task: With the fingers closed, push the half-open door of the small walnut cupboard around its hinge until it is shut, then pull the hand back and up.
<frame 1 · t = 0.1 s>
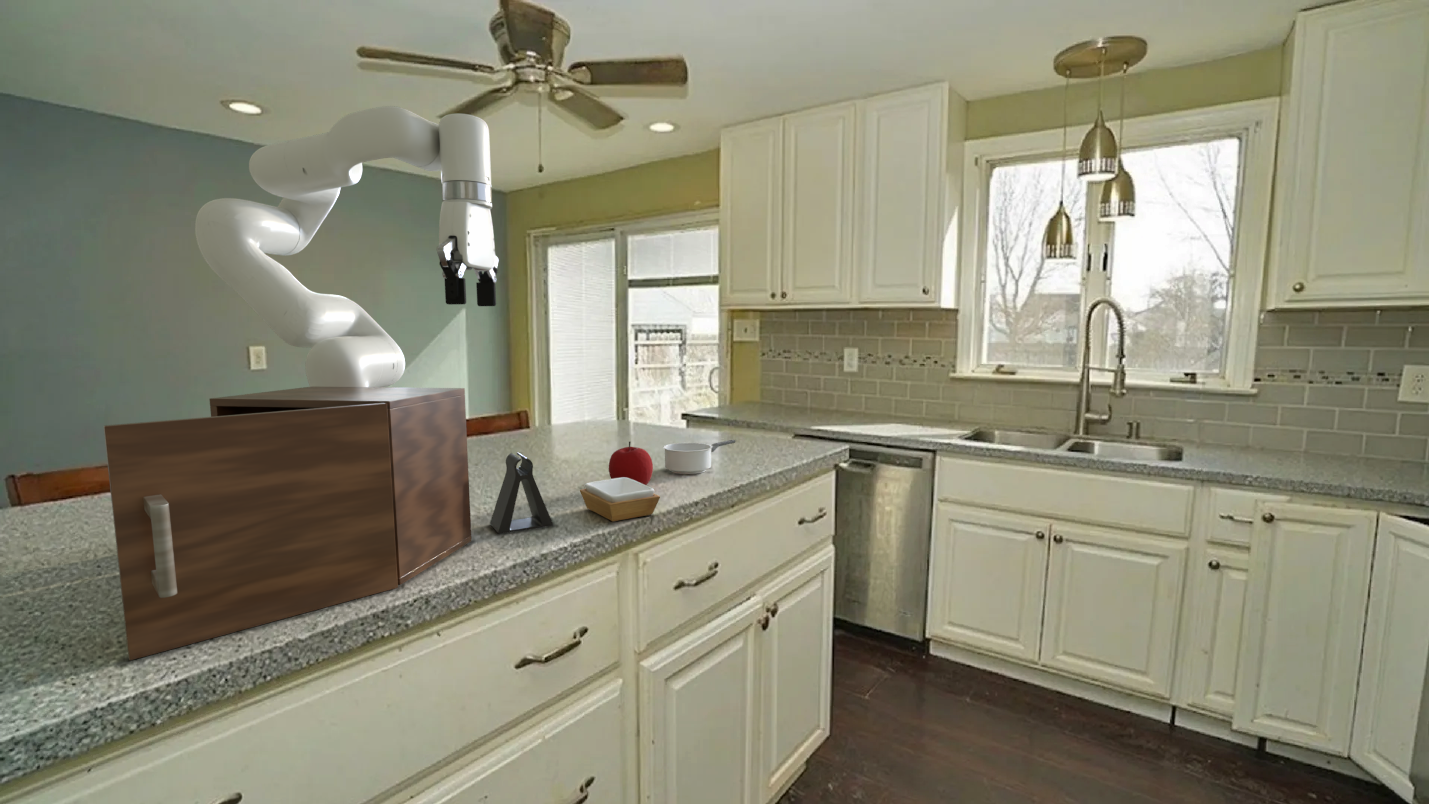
hand: (472, 305, 109), 37 cm above the worktop, tool pointing down, fingers open, 9 cm apart
apple: (631, 489, 138), on the worktop
cupboard door: (277, 522, 73), point 12 cm above the worktop, hinge at 55.0°
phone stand: (521, 527, 112), on the worktop
saucepan: (702, 468, 158), on the worktop
cupboard: (356, 557, 97), on the worktop
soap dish: (619, 513, 120), on the worktop
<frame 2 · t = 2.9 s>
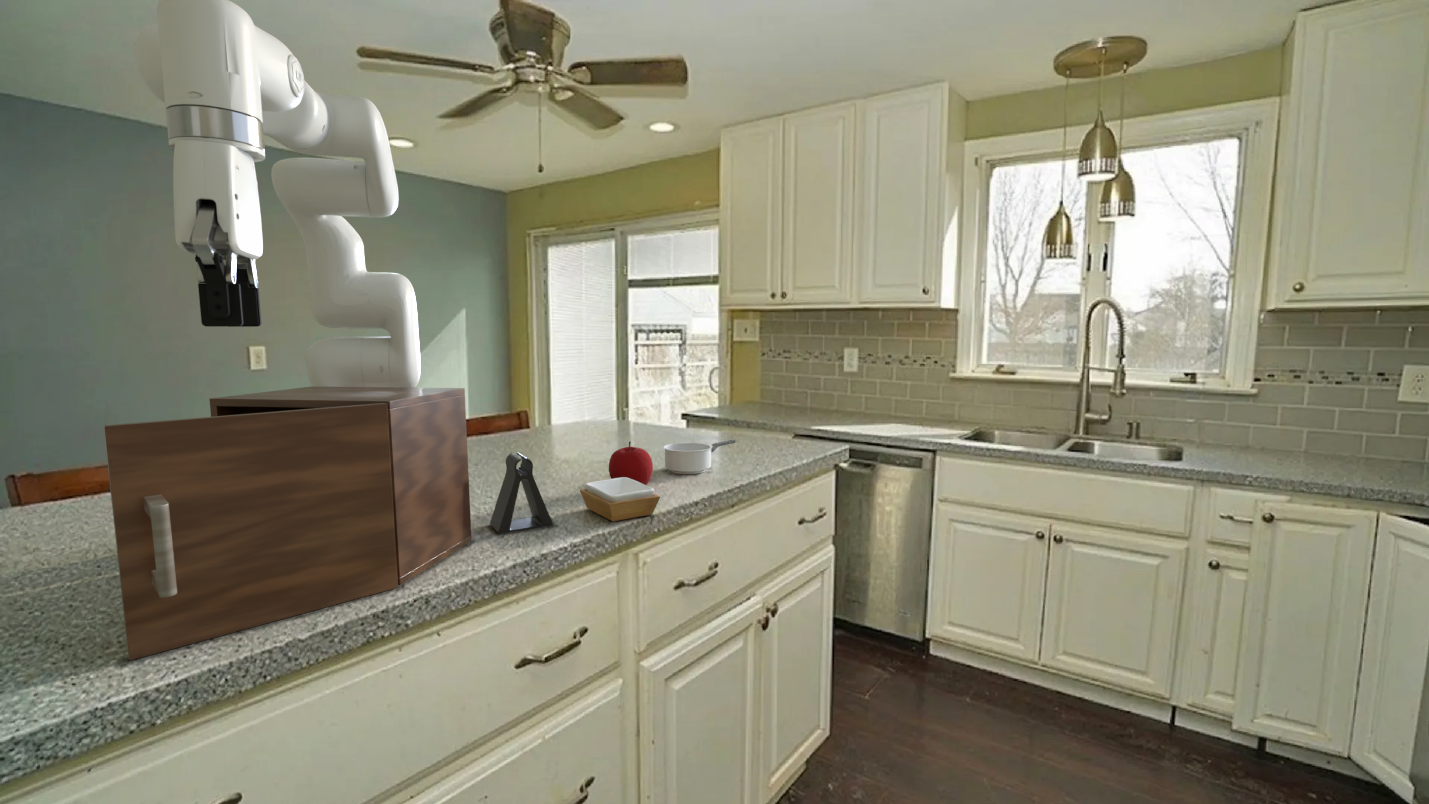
hand: (233, 324, 67), 34 cm above the worktop, tool pointing down, fingers open, 5 cm apart
nothing on the worktop moved.
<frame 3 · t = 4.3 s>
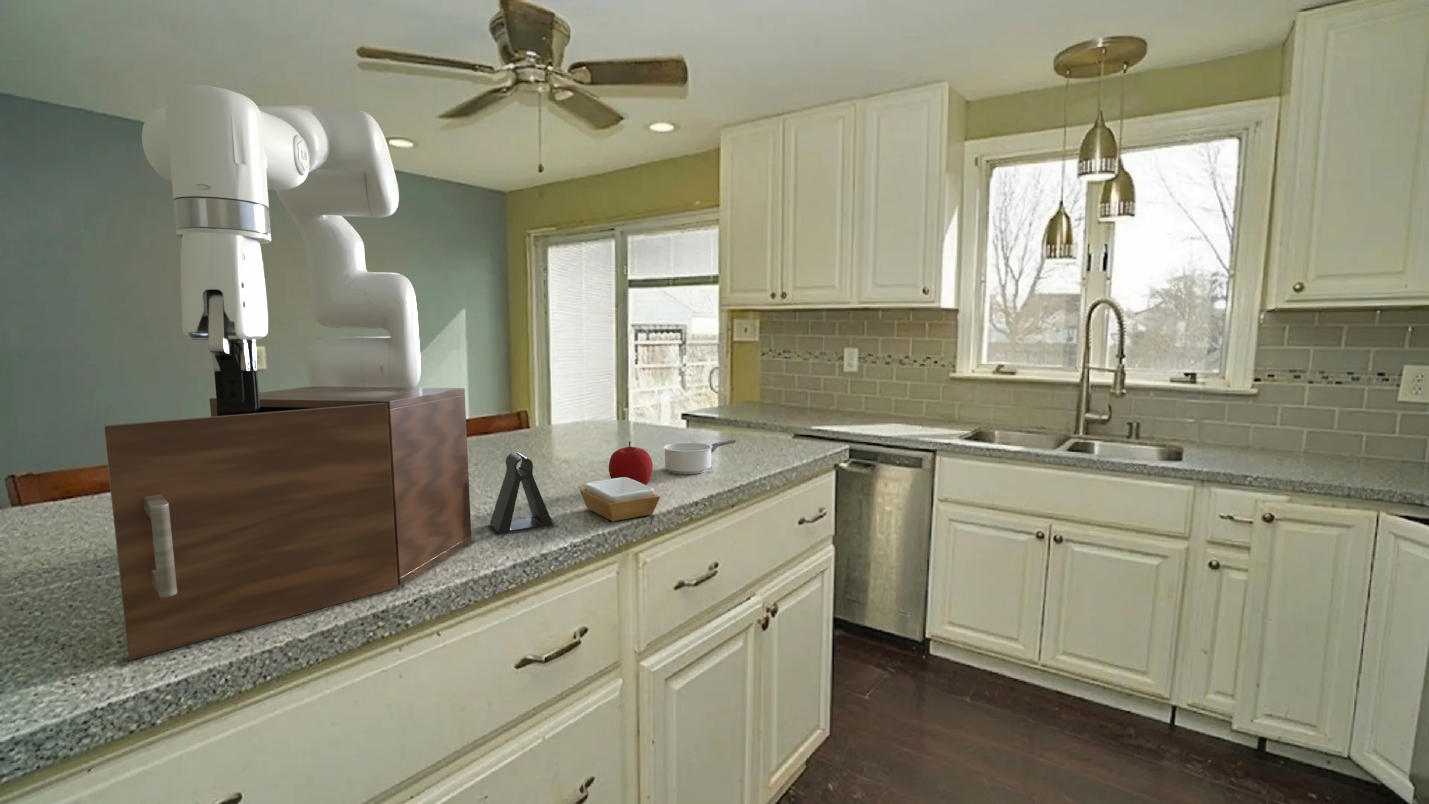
hand: (239, 410, 67), 25 cm above the worktop, tool pointing down, fingers closed
nothing on the worktop moved.
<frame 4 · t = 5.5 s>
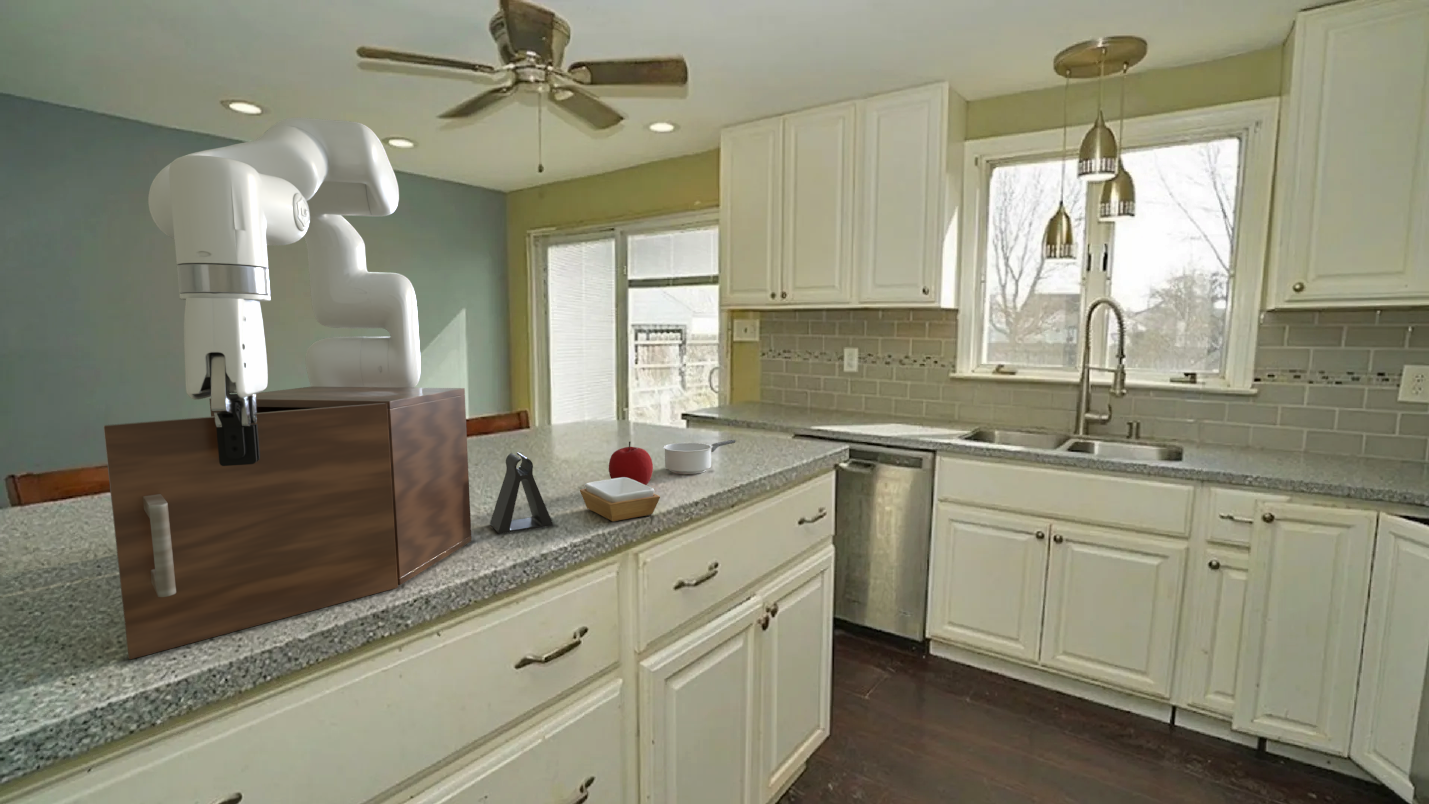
hand: (240, 463, 70), 19 cm above the worktop, tool pointing down, fingers closed
cupboard door: (276, 522, 73), point 12 cm above the worktop, hinge at 54.4°, touching gripper
everything else where it was.
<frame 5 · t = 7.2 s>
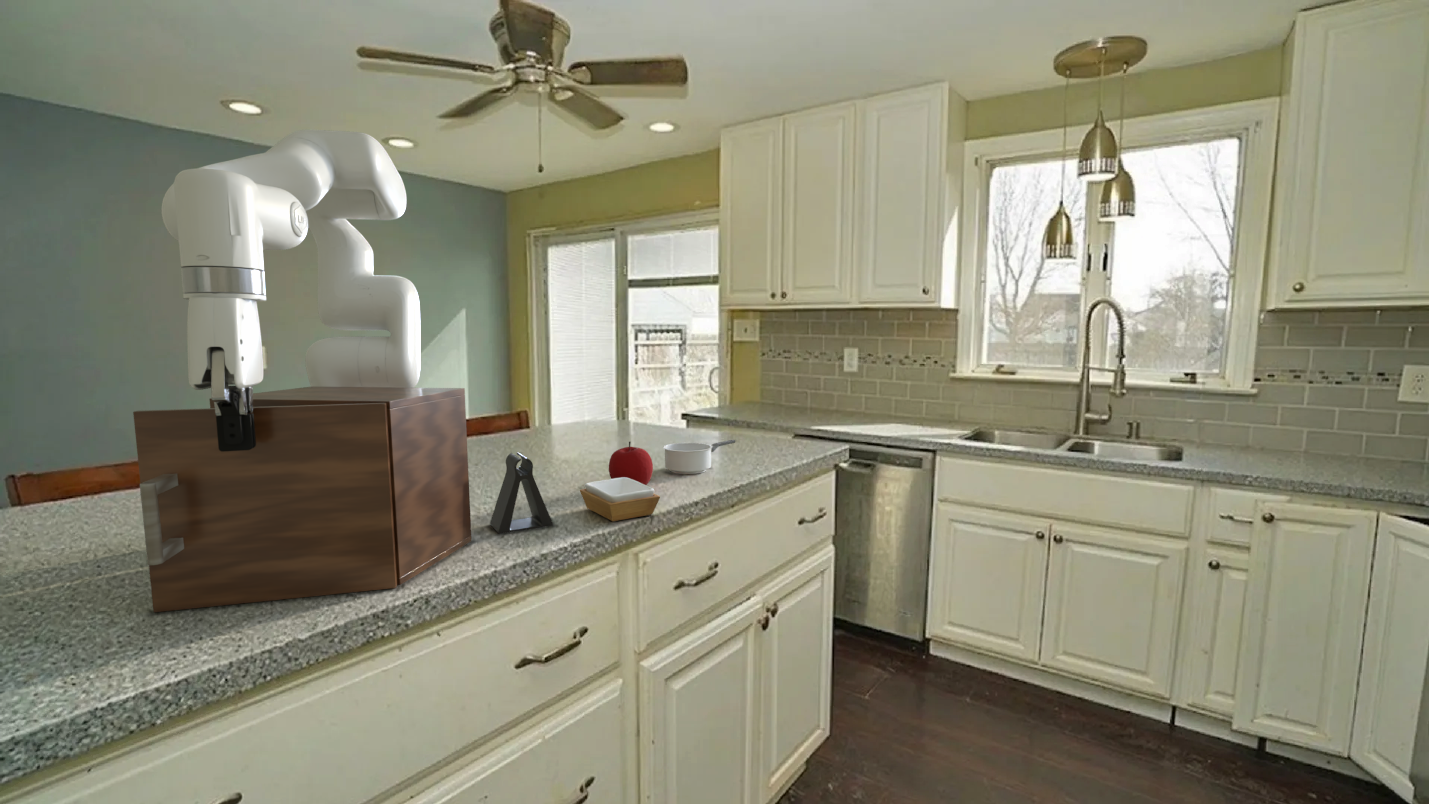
hand: (237, 449, 76), 19 cm above the worktop, tool pointing down, fingers closed
cupboard door: (265, 510, 78), point 12 cm above the worktop, hinge at 24.9°, touching gripper
everything else where it was.
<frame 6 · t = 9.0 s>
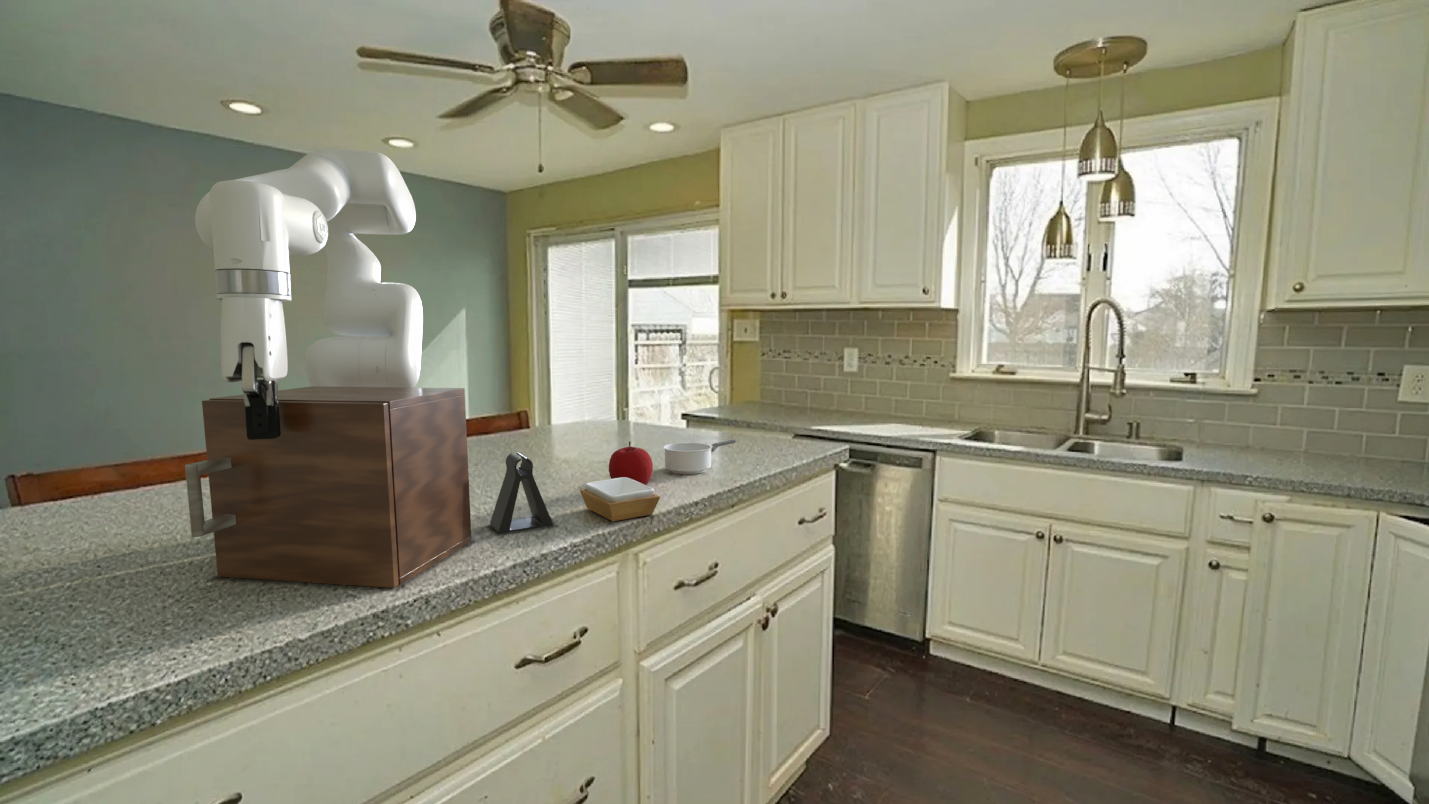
hand: (264, 438, 83), 20 cm above the worktop, tool pointing down, fingers closed
cupboard door: (283, 498, 84), point 12 cm above the worktop, hinge at -0.3°, touching gripper
everything else where it was.
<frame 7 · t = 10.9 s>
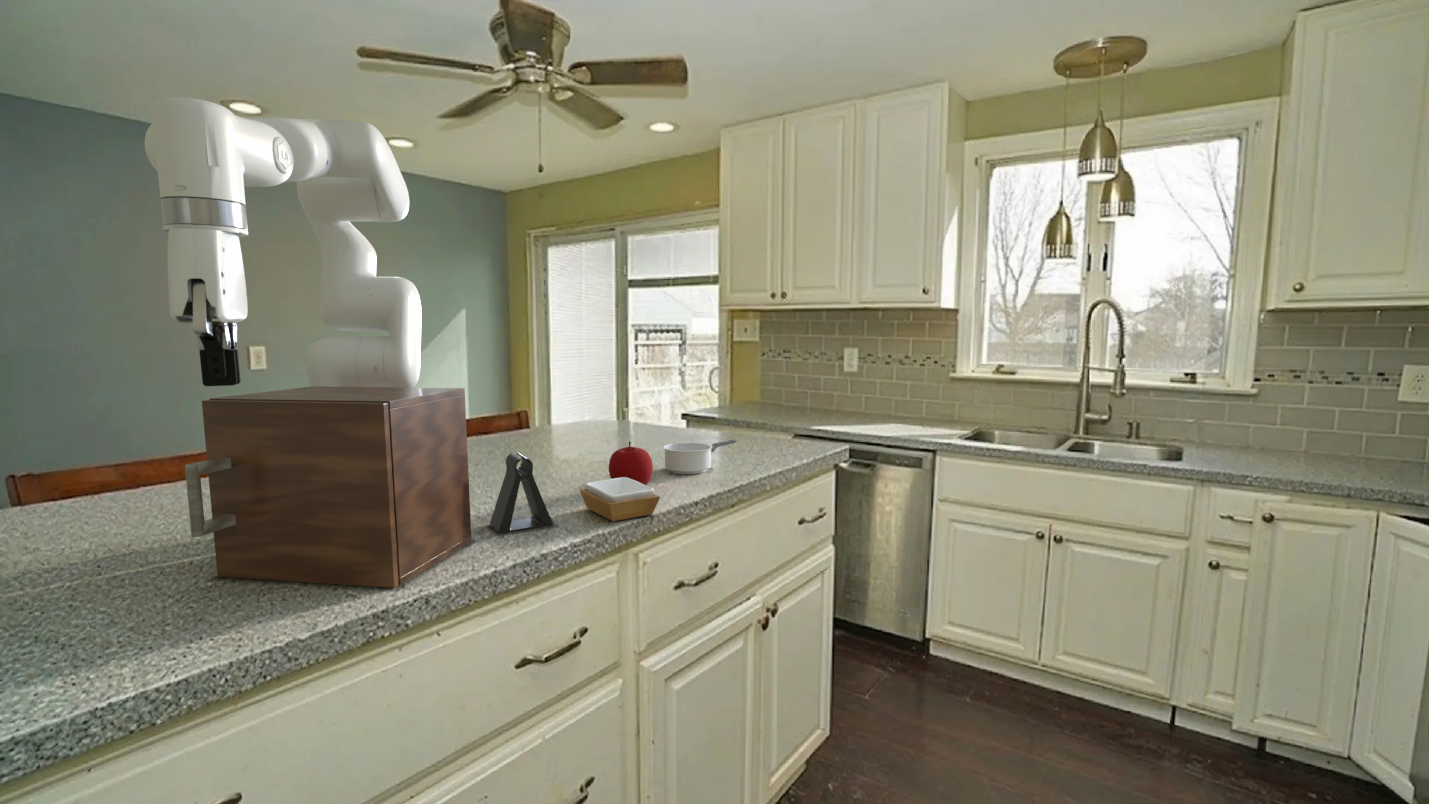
hand: (222, 384, 76), 27 cm above the worktop, tool pointing down, fingers closed
cupboard door: (282, 498, 84), point 12 cm above the worktop, hinge at -0.2°
everything else where it was.
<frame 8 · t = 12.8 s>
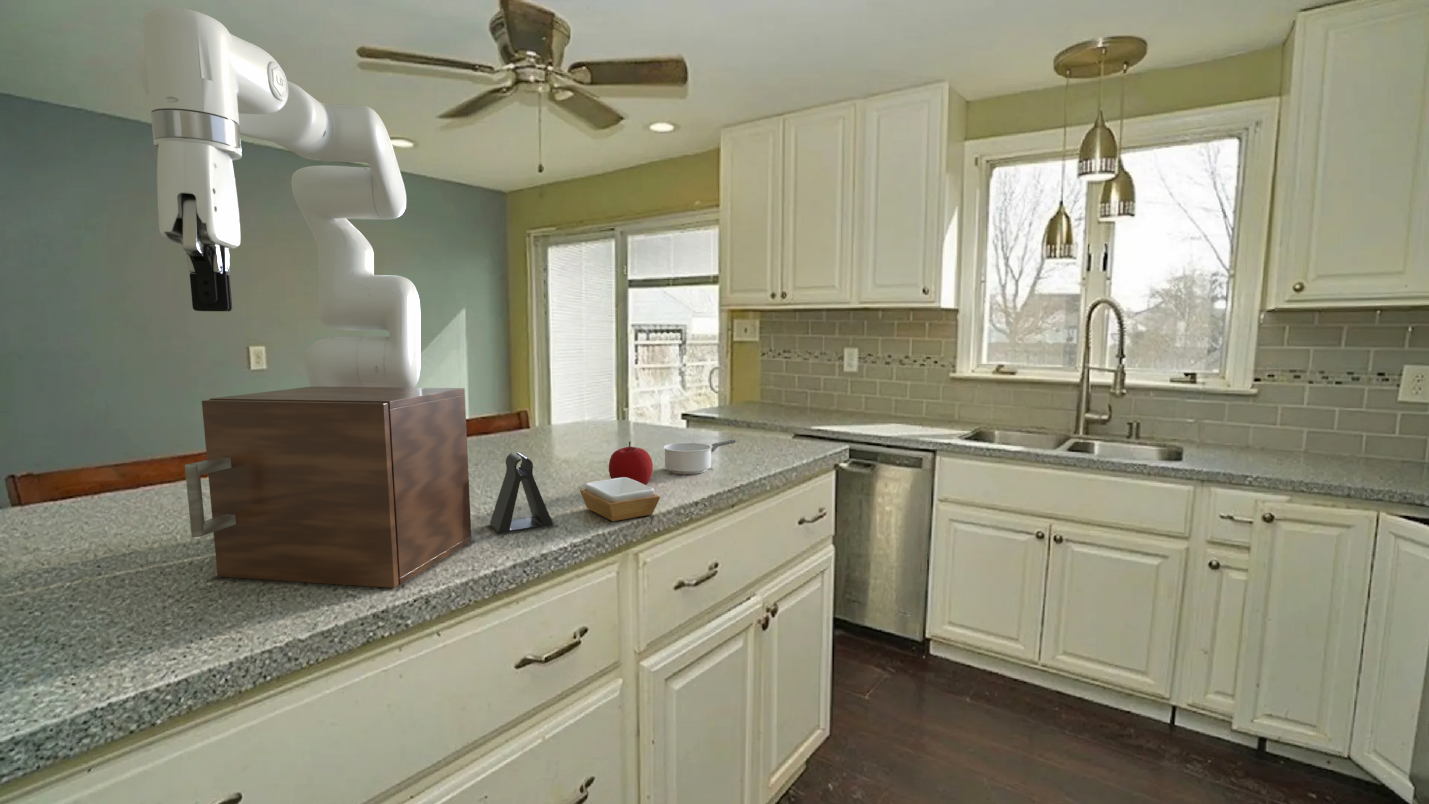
hand: (213, 310, 74), 35 cm above the worktop, tool pointing down, fingers closed
nothing on the worktop moved.
at the end: cupboard door at +0° (first picture: +55°) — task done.
